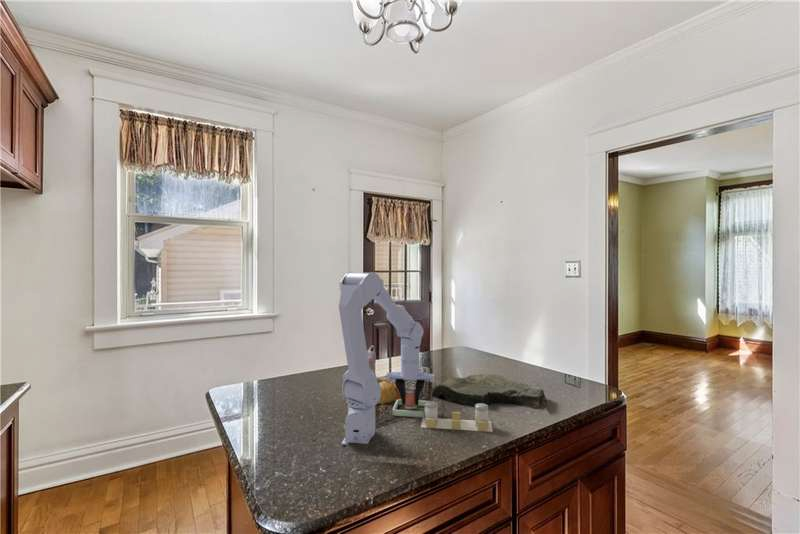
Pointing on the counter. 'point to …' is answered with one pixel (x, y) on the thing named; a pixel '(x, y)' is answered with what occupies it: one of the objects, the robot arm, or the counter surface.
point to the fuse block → (457, 423)
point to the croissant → (388, 393)
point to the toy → (371, 357)
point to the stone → (489, 391)
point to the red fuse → (410, 398)
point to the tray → (408, 412)
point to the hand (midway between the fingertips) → (410, 403)
